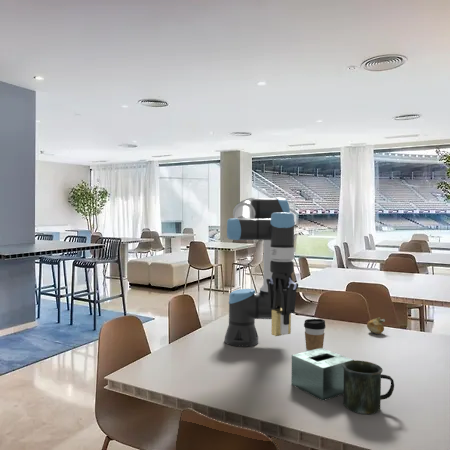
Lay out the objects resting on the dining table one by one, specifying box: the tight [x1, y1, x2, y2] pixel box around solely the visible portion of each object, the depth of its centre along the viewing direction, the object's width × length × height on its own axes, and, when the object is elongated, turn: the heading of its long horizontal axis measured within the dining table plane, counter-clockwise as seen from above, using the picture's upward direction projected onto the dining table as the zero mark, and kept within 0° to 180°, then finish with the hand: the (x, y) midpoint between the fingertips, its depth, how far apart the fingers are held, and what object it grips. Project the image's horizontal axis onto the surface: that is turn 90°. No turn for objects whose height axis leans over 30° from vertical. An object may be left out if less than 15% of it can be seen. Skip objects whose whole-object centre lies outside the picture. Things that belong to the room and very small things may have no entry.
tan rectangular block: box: [271, 308, 292, 337], centre depth 129 cm, size 2×6×8 cm, turn 122°
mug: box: [342, 359, 395, 415], centre depth 118 cm, size 11×15×12 cm
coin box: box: [291, 347, 354, 401], centre depth 132 cm, size 14×14×10 cm
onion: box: [366, 316, 386, 335], centre depth 196 cm, size 8×8×8 cm
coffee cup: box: [303, 318, 326, 352], centre depth 160 cm, size 8×8×15 cm
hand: (281, 332), depth 130 cm, fingers closed on tan rectangular block, 2 cm apart
